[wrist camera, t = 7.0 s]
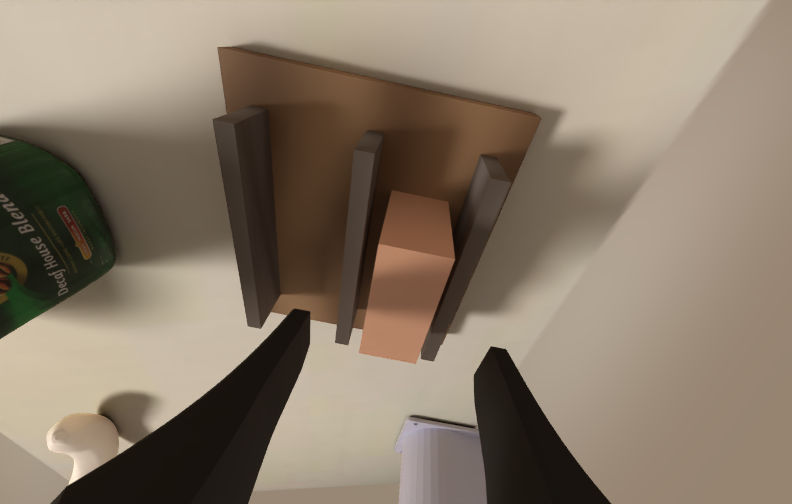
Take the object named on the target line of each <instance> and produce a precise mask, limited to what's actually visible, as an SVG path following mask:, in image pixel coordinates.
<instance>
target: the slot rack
mask: <svg viewBox="0 0 792 504" xmlns="http://www.w3.org/2000/svg"><path fill="white" fill-rule="evenodd" d="M217 48H218V55H219V62H220V69H221V76H222V83H223V90H224V97H225V104H226V111H227V114H226V115H223V116H221V117H218V118H215V119H213V125H214V130H215V136H216V142H217V148H218V154H219V160H220V166H221V171H222V177H223V183H224V189H225V195H226V201H227V207H228V213H229V218H230V224H231V230H232V236H233V242H234V248H235V254H236V259H237V265H238V271H239V277H240V283H241V289H242V295H243V300H244V306H245V312H246V318H247V324H248V326H250V327H255V328H260V329H261V328H262V326H263V324H264V323H265V321H266V319H267V317H268V316H269V314H270V312H274V313H279V314H285V315H288V314H289V313H290V312H291V311H292V310H293V309H295V308H296V309H301V310H306V311H310V319H311V320H316V321H321V322H326V323H332V324H337V330H336V340H335V343H339V344H344V345H348V344H349V340H350V336H351V332H352V328H358V329H363V328H364V323H365V317H366V311H367V306H368V300H369V295H370V289H371V283H372V278H373V272H374V267H375V261H376V255H377V250H378V244H379V240H380V236H381V232H382V228H383V224H384V220H385V216H386V212H387V208H388V203H389V199H390V195H391V191H392V190H394V191H399V192H404V193H408V194H413V195H418V196H423V197H428V198H432V199H437V200H442V201H447V202H448V203H449V212H450V220H451V229H452V237H453V246H454V254H455V261H454V264H453V266H452V269H451V272H450V274H449V277H448V279H447V282H446V285H445V287H444V290H443V293H442V295H441V298H440V301H439V303H438V306H437V309H436V311H435V314H434V317H433V319H432V322H431V324H430V327H429V330H428V332H427V335H426V338H425V340H424V343H423V346H422V348H421V359H423V360H429V361H434V359H435V357H436V355H437V352H438V350H439V348H440V345H442V344H443V341H444V339H445V337H446V335H447V332H448V330H449V328H450V325H451V323H452V321H453V319H454V316H455V314H456V312H457V309H458V307H459V305H460V303H461V300H462V298H463V296H464V294H465V291H466V289H467V287H468V284H469V282H470V280H471V278H472V275H473V273H474V271H475V268H476V266H477V264H478V262H479V259H480V257H481V255H482V253H483V250H484V248H485V246H486V243H487V241H488V239H489V237H490V234H491V232H492V230H493V227H494V225H495V223H496V221H497V218H498V216H499V214H500V212H501V209H502V207H503V205H504V202H505V200H506V198H507V196H508V193H509V191H510V189H511V186H512V184H513V182H514V180H515V177H516V175H517V173H518V171H519V168H520V166H521V164H522V161H523V159H524V157H525V155H526V152H527V150H528V148H529V145H530V143H531V141H532V139H533V136H534V134H535V132H536V130H537V127H538V125H539V123H540V120H541V118H540V117H539V116H538V115H536V114H534V113H530V112H525V111H521V110H516V109H512V108H507V107H503V106H498V105H493V104H489V103H484V102H480V101H475V100H471V99H466V98H462V97H457V96H453V95H448V94H443V93H439V92H434V91H430V90H425V89H421V88H416V87H412V86H407V85H402V84H398V83H393V82H389V81H384V80H380V79H375V78H371V77H366V76H361V75H357V74H352V73H348V72H343V71H339V70H334V69H330V68H325V67H320V66H316V65H311V64H307V63H302V62H298V61H293V60H289V59H284V58H280V57H275V56H270V55H266V54H261V53H257V52H252V51H248V50H243V49H239V48H234V47H217Z"/></svg>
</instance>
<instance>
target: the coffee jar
mask: <svg viewBox="0 0 792 504" xmlns="http://www.w3.org/2000/svg"><path fill="white" fill-rule="evenodd" d="M115 259H116V253H115V248H114V245H113V241H112V238H111V235H110V232H109V230H108V227H107V225H106V222H105V219H104V217H103V215H102V213H101V211H100V209H99V207H98V205H97V203H96V201H95V199H94V197H93V195H92V193H91V192H90V190H89V188H88V187H87V185H86V183H85V182H84V181H83V179H82V178H81V177H80V176H79V174H78V173H77V172H76V171H75V170H74V169H73V168H71V167H70V166H68V165H67V164H65V163H64V162H62V161H61V160H59V159H58V158H56V157H55V156H53V155H52V154H50V153H48V152H46V151H44V150H42V149H40V148H38V147H36V146H34V145H32V144H29V143H27V142H24V141H21V140H17V139H13V138H10V137H7V136H2V135H0V339H1V338H3V337H4V336H6V335H7V334H9V333H11V332H12V331H14V330H16V329H17V328H19V327H20V326H22V325H24V324H25V323H27V322H29V321H30V320H32V319H34V318H35V317H37V316H39V315H40V314H42V313H44V312H45V311H47V310H49V309H50V308H52V307H54V306H55V305H57V304H59V303H60V302H62V301H64V300H65V299H67V298H69V297H70V296H72V295H74V294H75V293H77V292H78V291H80V290H81V289H83V288H85V287H86V286H88V285H89V284H91V283H92V282H94V281H95V280H97V279H98V278H100V277H101V276H102V275H104V274H105V273H107V272H108V271H109V270H110V269H111V268H112V267H113V265H114V263H115Z"/></svg>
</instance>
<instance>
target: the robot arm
mask: <svg viewBox="0 0 792 504" xmlns="http://www.w3.org/2000/svg"><path fill="white" fill-rule="evenodd" d="M309 345H310V311H306V310H301V309H296V308H295V309H293V310H292V311H291V312H290V313H289V314H288V315H287V317H286V318H285V319H284V320H283V321H282V322H281V323H280V325H279V326H278V327H277V328H276V329H275V330H274V331H273V332H272V333H271V334H270V335H269V336H268V337H267V338H266V339H265V340H264V341H263V342H262V343H261V344H260V346H259V347H258V348H257V349H256V350H255V351H254V352H253V353H251V354H250V355H249V356H248V357H247V358H246V359H245V360H244V361H243V362H242V363H241V364H240V365H239V366H237V367H236V368H235V369H234V370H233V371H232V372H231V373H230V374H229V375H227V376H226V377H225V378H224V379H223V380H222V381H220V382H219V383H218V384H217V385H216V386H214V387H213V388H212V389H211V390H210V391H208V392H207V393H206V394H205V395H203V396H202V397H201V398H200V399H198V400H197V401H196V402H194V403H193V404H192V405H190V406H189V407H188V408H186V409H185V410H184V411H182V412H181V413H180V414H178V415H177V416H175V417H174V418H173V419H171V420H170V421H168V422H167V423H166V424H164V425H163V426H161V427H160V428H158V429H157V430H155V431H154V432H152V433H151V434H149V435H148V436H146V437H145V438H143V439H142V440H140V441H139V442H137V443H136V444H134V445H133V446H131V447H130V448H128V449H127V450H125V451H124V452H122V453H121V454H119V455H117V456H116V457H114V458H112V459H111V460H109V461H107V462H106V463H104V464H103V465H101V466H99V467H98V468H96V469H94V470H93V471H91V472H89V473H88V474H86V475H84V476H83V477H81V478H80V479H78V480H76V481H74V482H73V483H71V484H70V485H68V486H67V487H66V488H65V489H64V490H63V491H62V492H61V493H60V495H59V496H58V497H57V498H56V499H55V500H54V501H53V502H52V503H51V504H248V502H249V499H250V496H251V493H252V491H253V488H254V485H255V482H256V479H257V476H258V473H259V470H260V467H261V465H262V462H263V459H264V456H265V453H266V450H267V448H268V445H269V442H270V439H271V437H272V434H273V432H274V430H275V427H276V425H277V423H278V420H279V418H280V416H281V414H282V412H283V409H284V407H285V405H286V403H287V401H288V398H289V396H290V394H291V392H292V389H293V387H294V385H295V383H296V381H297V378H298V376H299V374H300V372H301V369H302V366H303V363H304V360H305V357H306V354H307V351H308V348H309ZM474 400H475V409H476V416H477V423H478V429H474V428H468V427H463V426H457V425H452V424H446V423H441V422H435V421H430V420H425V419H419V418H414V417H408V418H407V419H406V421H405V424H404V426H403V428H402V431H401V433H400V435H399V438H398V440H397V442H396V445H395V448H394V451H395V452H397V453H402V462H401V478H400V494H399V504H611V503H610V502H609V501H608V499H607V498H606V497H605V496H604V495H603V493H602V492H601V491H600V490H599V489H598V487H597V486H596V485H595V484H594V483H593V481H592V480H591V479H590V478H589V476H588V475H587V474H586V473H585V472H584V470H583V469H582V467H581V466H580V465H579V463H578V462H577V461H576V460H575V458H574V457H573V455H572V454H571V453H570V451H569V450H568V449H567V447H566V446H565V445H564V443H563V442H562V441H561V439H560V437H559V436H558V434H557V433H556V431H555V430H554V428H553V427H552V425H551V424H550V422H549V421H548V419H547V418H546V416H545V415H544V413H543V411H542V410H541V408H540V407H539V405H538V403H537V402H536V400H535V398H534V397H533V395H532V393H531V392H530V390H529V388H528V387H527V385H526V383H525V382H524V380H523V378H522V376H521V375H520V373H519V371H518V369H517V368H516V366H515V364H514V362H513V360H512V359H511V357H510V355H509V353H508V352H507V350H506V349H502V348H497V347H492V346H491V347H490V349H489V351H488V352H487V354H486V356H485V357H484V359H483V361H482V362H481V364H480V366H479V367H478V369H477V371H476V372H475V374H474Z"/></svg>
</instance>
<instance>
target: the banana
mask: <svg viewBox="0 0 792 504" xmlns="http://www.w3.org/2000/svg"><path fill="white" fill-rule="evenodd" d="M47 446H48V448H49V449H50V450H51V451H53V452H57V453H66V454H68V455H70V456H71V457H72V458H73V460H74V469H73V473H72V477H71V479H70V482H69V485H70V484H71V483H73V482H74V481H76V480H78V479H80V478H81V477H83V476H84V475H86V474H88V473H89V472H91V471H93V470H94V469H96V468H98V467H99V466H101V465H103V464H104V463H106V462H107V461H109V460H111V459H112V458H114V457H116V456H117V454H118V449H119V437H118V432H117V429H116V427H115V425H114V424H113V422H112V421H111V420H109V419H108V418H106V417H104V416H101V415H98V414H91V413H77V414H71V415H69V416H67V417H65V418H63V419H61V420H60V421H58V422H57V423H56V424H55V425H54V426H53V427H52V428H51V429H50V430H49V432H48V433H47Z"/></svg>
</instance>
